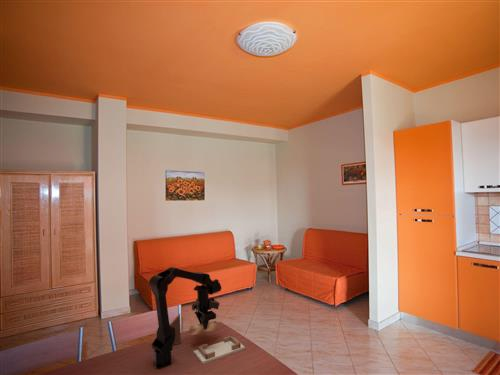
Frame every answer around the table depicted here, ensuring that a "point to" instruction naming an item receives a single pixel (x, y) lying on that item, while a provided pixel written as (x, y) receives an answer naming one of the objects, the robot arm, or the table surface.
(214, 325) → the slat
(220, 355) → the slat board
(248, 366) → the table surface
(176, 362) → the table surface
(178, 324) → the wooden block
